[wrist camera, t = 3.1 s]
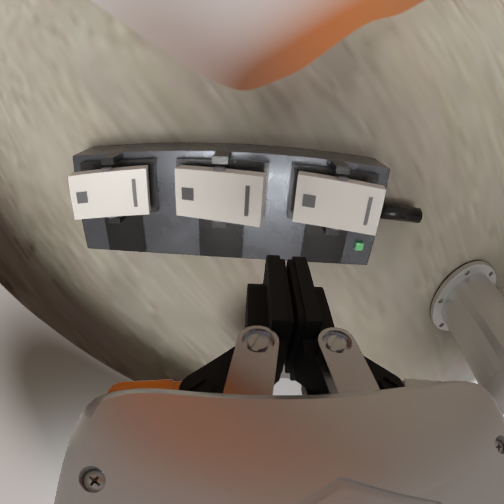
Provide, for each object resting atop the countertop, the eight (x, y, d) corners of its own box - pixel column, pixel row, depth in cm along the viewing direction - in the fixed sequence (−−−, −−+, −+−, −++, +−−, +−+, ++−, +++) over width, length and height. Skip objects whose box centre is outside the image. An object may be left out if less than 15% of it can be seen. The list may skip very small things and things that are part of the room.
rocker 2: (266, 170, 22) (263, 174, 21) (262, 223, 24) (259, 230, 23) (181, 162, 23) (174, 166, 22) (182, 212, 25) (176, 217, 24)
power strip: (422, 167, 27) (452, 186, 22) (401, 248, 32) (422, 277, 27) (92, 146, 26) (61, 161, 21) (103, 231, 32) (79, 258, 26)
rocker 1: (147, 162, 23) (145, 166, 22) (151, 210, 25) (149, 216, 24) (72, 170, 21) (67, 174, 20) (79, 216, 24) (75, 222, 23)
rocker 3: (384, 183, 22) (387, 187, 21) (372, 231, 24) (374, 238, 23) (299, 168, 23) (298, 172, 22) (293, 218, 25) (291, 224, 24)
